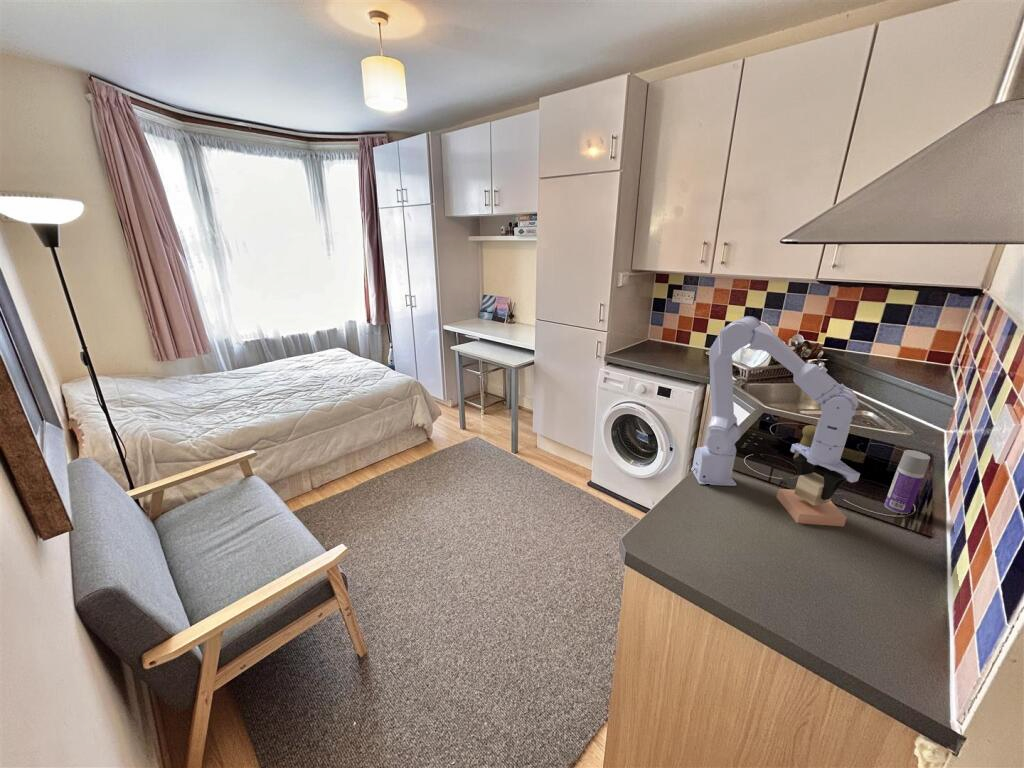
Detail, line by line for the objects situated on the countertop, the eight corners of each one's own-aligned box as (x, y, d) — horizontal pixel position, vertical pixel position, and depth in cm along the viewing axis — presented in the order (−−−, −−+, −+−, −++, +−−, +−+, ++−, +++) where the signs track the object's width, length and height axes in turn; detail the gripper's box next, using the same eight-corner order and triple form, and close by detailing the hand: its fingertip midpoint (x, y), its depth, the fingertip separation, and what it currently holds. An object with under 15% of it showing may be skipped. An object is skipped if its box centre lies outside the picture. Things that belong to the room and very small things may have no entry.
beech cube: (813, 505, 94) (819, 487, 93) (794, 493, 99) (798, 475, 97) (829, 501, 96) (835, 483, 94) (809, 489, 100) (814, 472, 99)
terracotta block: (796, 524, 95) (799, 513, 94) (776, 498, 104) (778, 488, 103) (843, 528, 94) (846, 517, 93) (818, 501, 103) (821, 491, 102)
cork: (810, 456, 124) (819, 423, 120) (822, 466, 118) (832, 432, 114) (789, 455, 124) (797, 422, 120) (800, 465, 118) (809, 431, 115)
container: (915, 514, 97) (937, 459, 92) (895, 514, 97) (916, 459, 92) (897, 502, 102) (917, 449, 97) (878, 502, 102) (898, 449, 97)
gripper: (786, 429, 98) (774, 478, 102) (849, 459, 85) (832, 513, 89) (808, 425, 100) (795, 473, 104) (873, 454, 87) (855, 507, 91)
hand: (814, 491), depth 97 cm, fingers closed on beech cube, 5 cm apart
